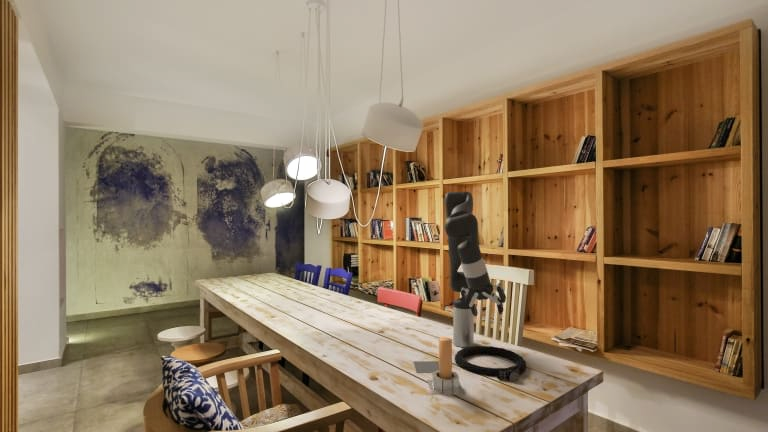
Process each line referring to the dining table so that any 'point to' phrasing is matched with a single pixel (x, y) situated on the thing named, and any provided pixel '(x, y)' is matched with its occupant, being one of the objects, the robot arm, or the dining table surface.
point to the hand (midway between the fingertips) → (488, 313)
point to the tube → (445, 358)
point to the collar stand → (445, 385)
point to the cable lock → (502, 373)
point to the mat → (426, 366)
